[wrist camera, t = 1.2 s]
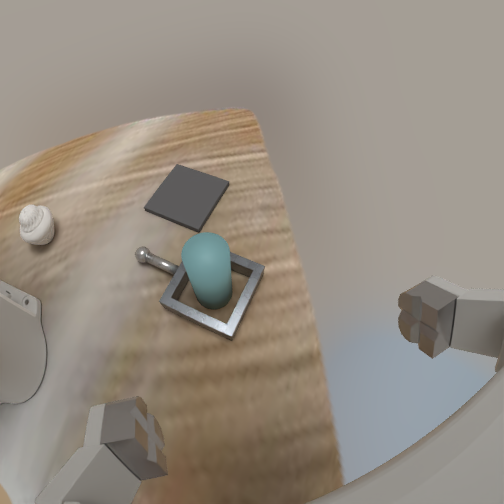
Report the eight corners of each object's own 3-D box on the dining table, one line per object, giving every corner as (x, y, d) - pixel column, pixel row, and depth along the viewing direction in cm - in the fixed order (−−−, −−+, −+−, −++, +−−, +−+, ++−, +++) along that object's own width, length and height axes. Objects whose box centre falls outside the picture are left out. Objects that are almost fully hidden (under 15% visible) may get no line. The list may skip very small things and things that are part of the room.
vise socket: (122, 285, 36) (115, 278, 34) (157, 229, 40) (153, 219, 38) (232, 340, 33) (231, 336, 31) (263, 274, 37) (264, 266, 35)
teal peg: (189, 299, 36) (172, 263, 27) (206, 269, 37) (195, 225, 29) (222, 315, 35) (216, 283, 26) (238, 283, 37) (237, 243, 28)
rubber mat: (145, 210, 41) (143, 207, 41) (177, 167, 45) (176, 164, 44) (199, 232, 40) (198, 229, 39) (229, 185, 44) (229, 181, 43)
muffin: (47, 214, 41) (27, 188, 34) (68, 227, 40) (48, 199, 33) (26, 244, 38) (2, 221, 32) (46, 260, 37) (21, 236, 31)
